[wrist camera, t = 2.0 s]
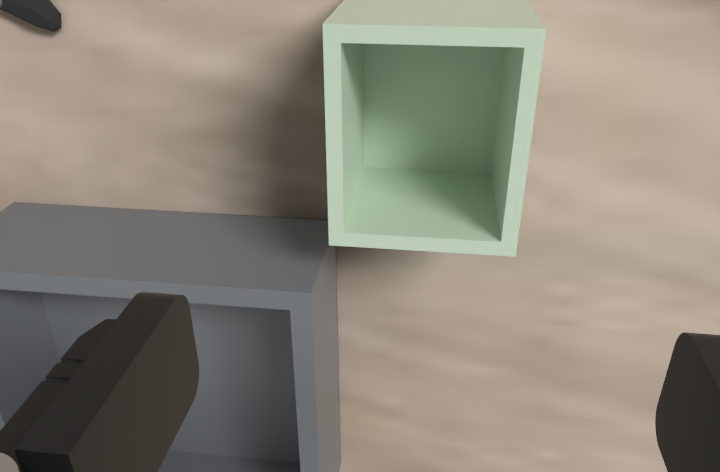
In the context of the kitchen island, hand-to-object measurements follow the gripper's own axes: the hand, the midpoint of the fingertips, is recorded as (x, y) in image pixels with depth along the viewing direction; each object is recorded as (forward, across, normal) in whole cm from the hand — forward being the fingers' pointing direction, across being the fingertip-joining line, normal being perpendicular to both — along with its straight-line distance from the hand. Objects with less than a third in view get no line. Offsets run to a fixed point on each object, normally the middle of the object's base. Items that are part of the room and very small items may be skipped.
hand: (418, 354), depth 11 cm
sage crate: (+15, 0, 0) cm, 16 cm away
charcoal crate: (+15, +11, +13) cm, 23 cm away
